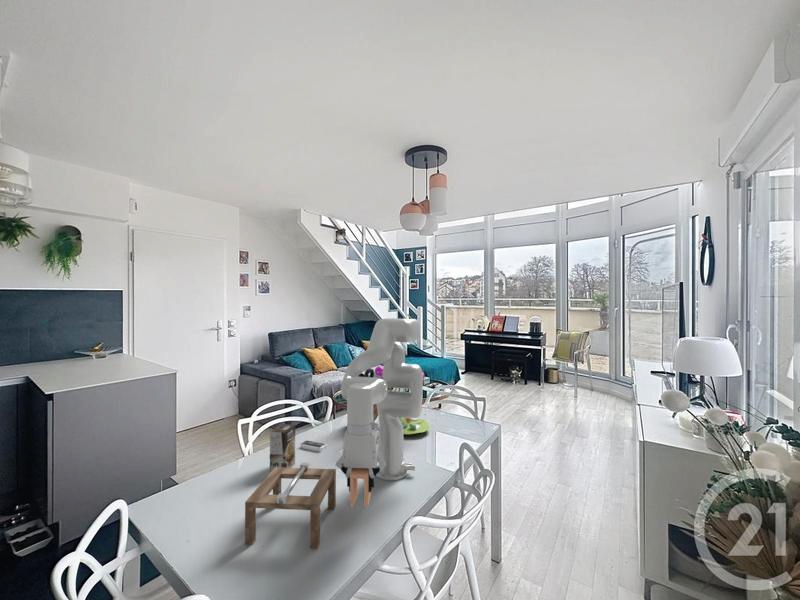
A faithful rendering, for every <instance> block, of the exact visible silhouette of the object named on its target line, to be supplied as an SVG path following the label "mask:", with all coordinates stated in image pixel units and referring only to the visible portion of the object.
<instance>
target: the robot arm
mask: <svg viewBox="0 0 800 600" xmlns="http://www.w3.org/2000/svg"><path fill="white" fill-rule="evenodd" d="M420 325H421V324H420V322H419V320H417V319H416V318H395V317H392V318H390V317H389V318H380V319H379V320H377V321H376V323H375V325H374V327H373V331H372V334H371V337H370V340H369V343H368V346H367V349H366V350H364V351H363V352H361V353H360V354H359V355H357V356H356V357H355V358H354V359H353V360H352V361H350V362H349V364H348V365H347V368H346V370H345V373H344V375H343V379H342V382H341V385H340V394H341V396H342V398H343V399H344V400H346V404H347V405H346V406H347V407H346V408H347V410H346V414H347V417H346V420H347V422H346V423H347V425H346V427H347V429H346V430H345V433H344V437H343V444H342V445H343V446H342V454H341V455H340V457H338V459H337V460H336V462H335V466H336V467H337V468H338V469H340V470H341V472H342V473H343V474H344V475H345V478H346V483H347V484H346V487H348V491H349V492H350V473H351V471H352V468H368V471H369V492H371V493H372V489H374V487H375V476H376V477H377V479H378V478H379V479H380V480H384V481H392V482H393V481H398V480H402V479H403V478H405V477H406V476H407V475H408V471H416V465H415V464H413V463H412V462H406V461H405V458H404V434H403V425H402V423H401V421H400V419H399V417H400V418H417V419H419V417H420V416H421V414H422V408H423V387H424V385H423V384H424V380H423V373H424V372H423V369H422V367H421V366H420V365H419V364H415V363H406V350H405V348H404V346H403V344H402V343H413V342H415V341H417V340H418V338H419V337H420V333H421V326H420ZM378 366H383V376H382V377H380V378H379V377H373V378H372V377H370V376H368V377H358V376H359V375H360V374H361V373H362V374H363V373H365V371H366V370H367V369H370V368H371V369H373V368H376V367H378ZM422 372H423V373H422ZM388 387H391V389H392V388H393V389H395V388H397V389H399V388H400V389H408V390H409V389H410V390H409V391H400V392H398V391H394V390H392V391H389V388H388ZM375 404H377V410H378V417H377V418H378V422H377V423H376V422H375V421H374V420H373V405H375ZM377 429H378V432H377ZM377 433H378V434H377Z"/></svg>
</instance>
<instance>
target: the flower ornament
mask: <svg viewBox="0 0 800 600" xmlns="http://www.w3.org/2000/svg"><path fill="white" fill-rule="evenodd" d="M422 373H423V381H424V380H425V379H426V377H425V373H424V371H422ZM374 374H375V375H376V376H378V378H383V365H379V366H376V367H375V369H374ZM396 390H398V391H397V392H401V388H394V390H392V387H388V391H396ZM408 390H409V391H410V389H408ZM399 419H400V421H401V423H402V425H403V435H413V434H420V433H425V432H427V431H428V430H429V429H430V428H431V426H430V423H429V422H428V421H427V420H425V419H421V418H400V417H399Z"/></svg>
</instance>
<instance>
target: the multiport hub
mask: <svg viewBox="0 0 800 600" xmlns="http://www.w3.org/2000/svg"><path fill="white" fill-rule="evenodd" d="M300 449H304V450H309V451H314V452H318V453H322V452H324V451H325V450H326V449H327V444H326V443H322V442H317V441H310V440H304V441H303V442H301V443H300Z"/></svg>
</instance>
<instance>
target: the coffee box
mask: <svg viewBox="0 0 800 600" xmlns="http://www.w3.org/2000/svg"><path fill="white" fill-rule="evenodd" d="M295 464H296V424H292V423H289V424H288V423H281V424H280V425H278V426H276V427H275V428H273V429H272V430H270V431H269V473H271V472H272V471H273V469H274V468H275V467H286V468H293V467H294V466H295Z"/></svg>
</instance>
